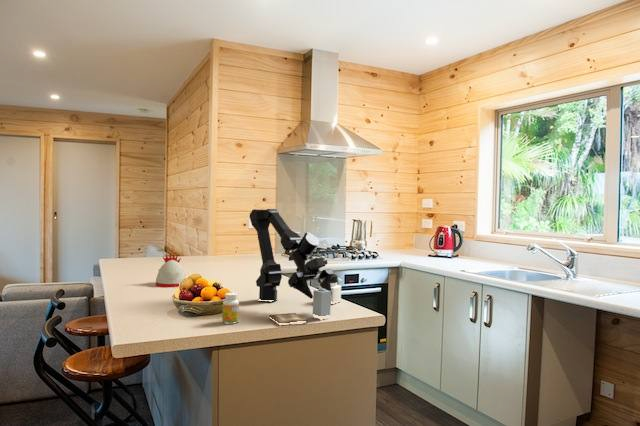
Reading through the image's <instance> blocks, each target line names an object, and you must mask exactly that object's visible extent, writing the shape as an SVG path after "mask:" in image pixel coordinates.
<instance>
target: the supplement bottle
mask: <svg viewBox="0 0 640 426" xmlns="http://www.w3.org/2000/svg"><path fill="white" fill-rule="evenodd" d="M224 295H225V297H224V298H225V299H224V300H223V301H222V321H221V322H222V323H223V322H225V323H234V322H239V314H240V312H239V311H240V301H239V300H238V293H236V292H227V293H225V294H224ZM225 323H224V324H225Z"/></svg>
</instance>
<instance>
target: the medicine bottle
mask: <svg viewBox="0 0 640 426" xmlns="http://www.w3.org/2000/svg"><path fill="white" fill-rule="evenodd" d="M338 278H339V276H338V275H337V274H335V273H334V275H333V277H332V278H331V280H330V285H331V292H332V295H331V301H332V302H334V301H338V300H341V301H342V299H341V298H342V285H339V284H338V280H339V279H338ZM321 288H322V287H321V286H320V285H318V290H319V289H321Z"/></svg>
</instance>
